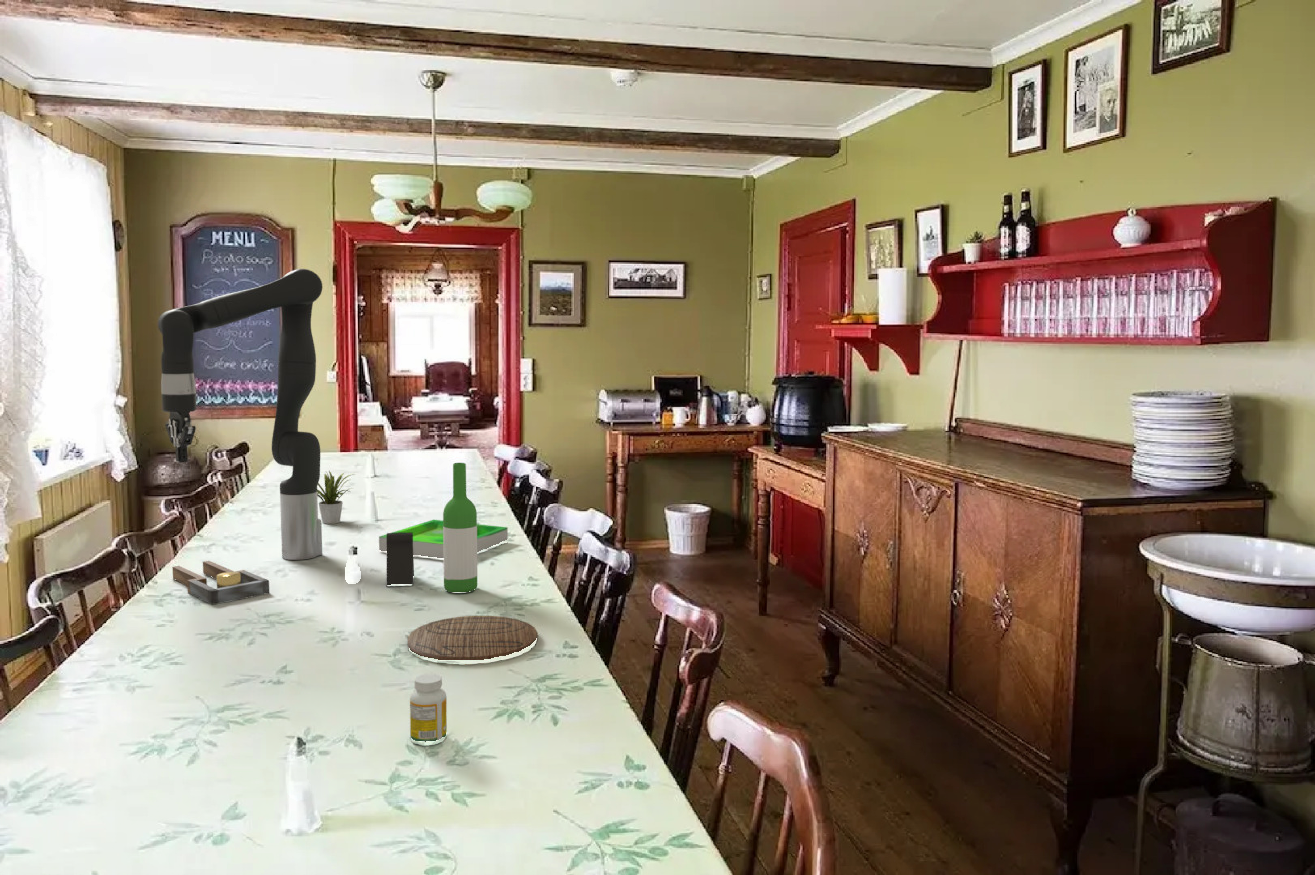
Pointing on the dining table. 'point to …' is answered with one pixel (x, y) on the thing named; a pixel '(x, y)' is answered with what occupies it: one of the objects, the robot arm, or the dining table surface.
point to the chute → (200, 589)
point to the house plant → (331, 499)
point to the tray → (431, 538)
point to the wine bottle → (460, 537)
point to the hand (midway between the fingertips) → (181, 461)
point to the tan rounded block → (228, 579)
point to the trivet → (471, 638)
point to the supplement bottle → (428, 709)
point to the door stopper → (400, 558)
